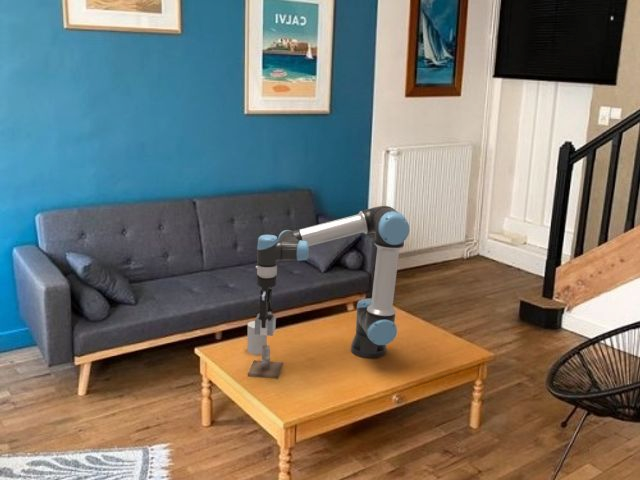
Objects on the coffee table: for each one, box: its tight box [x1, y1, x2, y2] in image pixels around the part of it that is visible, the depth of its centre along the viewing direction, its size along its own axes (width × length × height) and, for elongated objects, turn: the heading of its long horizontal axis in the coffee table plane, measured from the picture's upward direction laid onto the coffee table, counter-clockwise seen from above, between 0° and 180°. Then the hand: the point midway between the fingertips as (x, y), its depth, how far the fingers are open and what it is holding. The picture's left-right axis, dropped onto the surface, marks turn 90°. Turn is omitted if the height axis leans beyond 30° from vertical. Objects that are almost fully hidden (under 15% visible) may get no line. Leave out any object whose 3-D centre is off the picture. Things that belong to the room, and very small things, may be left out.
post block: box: [247, 344, 284, 379], centre depth 269 cm, size 12×12×10 cm
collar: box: [254, 312, 277, 337], centre depth 265 cm, size 7×7×6 cm
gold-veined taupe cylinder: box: [246, 320, 268, 356], centre depth 287 cm, size 8×8×12 cm
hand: (265, 330), depth 266 cm, fingers closed on collar, 7 cm apart
